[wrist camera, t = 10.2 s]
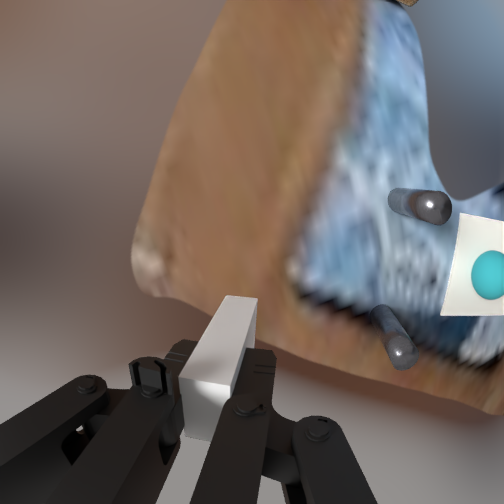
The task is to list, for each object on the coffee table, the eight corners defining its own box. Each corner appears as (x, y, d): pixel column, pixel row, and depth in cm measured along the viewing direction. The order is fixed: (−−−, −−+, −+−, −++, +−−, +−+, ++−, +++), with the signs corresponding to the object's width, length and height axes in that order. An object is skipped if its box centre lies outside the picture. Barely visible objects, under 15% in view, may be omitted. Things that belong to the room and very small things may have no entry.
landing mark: (524, 226, 25) (525, 226, 25) (505, 314, 28) (505, 315, 27) (460, 212, 26) (460, 212, 26) (440, 314, 29) (440, 315, 29)
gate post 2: (410, 189, 27) (453, 193, 18) (408, 213, 27) (449, 227, 18) (388, 186, 27) (426, 188, 18) (386, 211, 27) (423, 223, 19)
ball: (509, 258, 20) (468, 245, 25) (496, 310, 22) (458, 294, 27) (522, 256, 22) (486, 244, 27) (511, 302, 23) (477, 288, 28)
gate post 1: (392, 305, 29) (422, 345, 21) (388, 325, 30) (414, 370, 21) (372, 304, 30) (397, 345, 21) (367, 324, 30) (389, 370, 22)
